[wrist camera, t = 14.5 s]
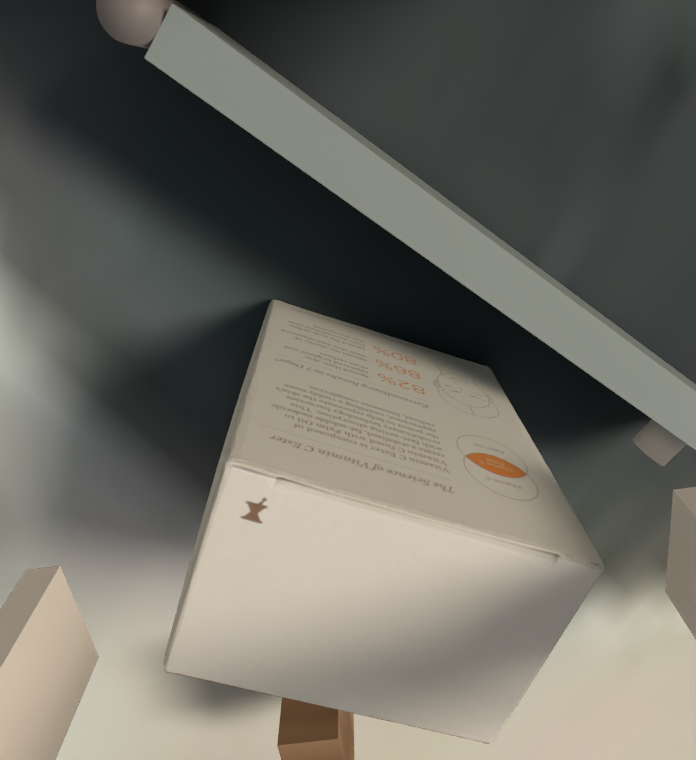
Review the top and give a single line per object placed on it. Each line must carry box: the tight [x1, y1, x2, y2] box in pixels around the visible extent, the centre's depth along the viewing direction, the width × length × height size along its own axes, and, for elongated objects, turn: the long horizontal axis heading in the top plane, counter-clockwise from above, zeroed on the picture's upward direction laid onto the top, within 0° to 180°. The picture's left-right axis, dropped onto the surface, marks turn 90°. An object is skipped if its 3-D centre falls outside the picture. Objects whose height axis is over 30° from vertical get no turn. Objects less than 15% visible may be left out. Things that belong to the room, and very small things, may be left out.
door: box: [96, 0, 696, 466], centre depth 18 cm, size 21×2×6 cm, turn 55°
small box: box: [164, 300, 604, 744], centre depth 18 cm, size 8×6×10 cm
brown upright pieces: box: [277, 697, 354, 760], centre depth 19 cm, size 29×2×6 cm, turn 8°
